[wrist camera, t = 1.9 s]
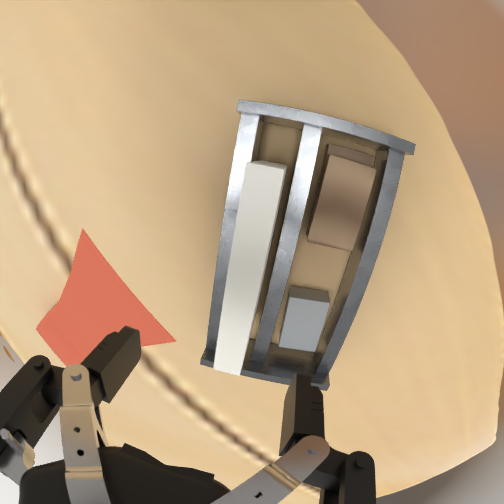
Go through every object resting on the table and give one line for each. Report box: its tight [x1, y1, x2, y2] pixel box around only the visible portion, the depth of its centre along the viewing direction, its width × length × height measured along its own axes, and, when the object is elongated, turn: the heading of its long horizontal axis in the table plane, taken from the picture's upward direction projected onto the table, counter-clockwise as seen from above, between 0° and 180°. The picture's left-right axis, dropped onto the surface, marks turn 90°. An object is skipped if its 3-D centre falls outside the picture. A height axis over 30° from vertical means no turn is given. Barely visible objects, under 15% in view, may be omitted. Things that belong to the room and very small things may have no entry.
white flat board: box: [213, 160, 288, 376], centre depth 25 cm, size 18×2×11 cm, turn 170°
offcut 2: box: [307, 144, 373, 251], centre depth 27 cm, size 10×4×2 cm, turn 170°
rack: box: [200, 100, 416, 391], centre depth 27 cm, size 28×15×6 cm, turn 170°
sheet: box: [36, 229, 176, 366], centre depth 38 cm, size 6×30×24 cm
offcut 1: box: [279, 286, 330, 352], centre depth 31 cm, size 7×4×3 cm, turn 173°
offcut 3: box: [306, 154, 376, 251], centre depth 24 cm, size 8×4×2 cm, turn 168°
